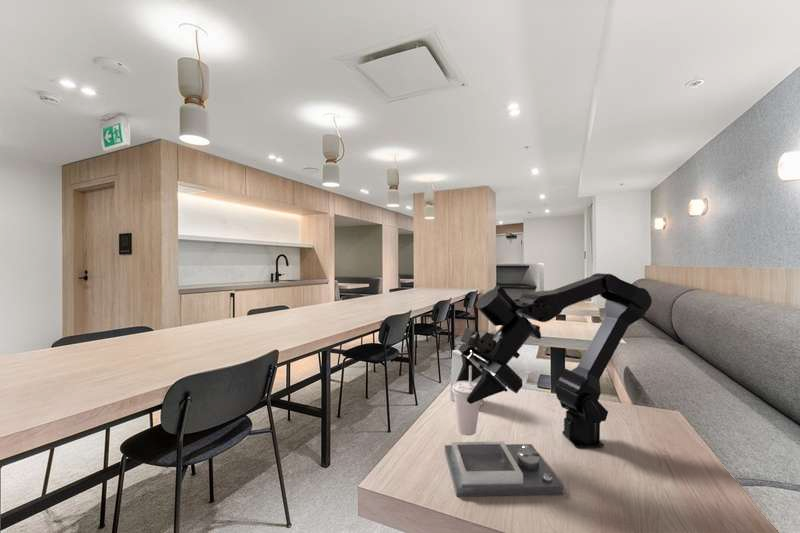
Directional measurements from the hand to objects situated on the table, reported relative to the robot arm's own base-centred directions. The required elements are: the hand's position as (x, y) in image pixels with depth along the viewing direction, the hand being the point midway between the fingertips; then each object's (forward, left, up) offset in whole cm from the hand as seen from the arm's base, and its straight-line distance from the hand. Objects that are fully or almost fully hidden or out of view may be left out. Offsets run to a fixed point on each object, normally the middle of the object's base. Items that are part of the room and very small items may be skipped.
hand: (461, 395), depth 72 cm
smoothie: (-1, -1, -8) cm, 8 cm away
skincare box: (-7, -29, -13) cm, 32 cm away
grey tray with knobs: (-6, +4, -13) cm, 15 cm away
